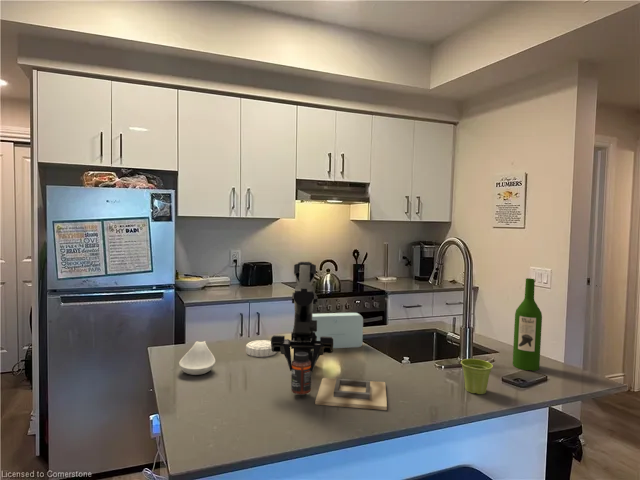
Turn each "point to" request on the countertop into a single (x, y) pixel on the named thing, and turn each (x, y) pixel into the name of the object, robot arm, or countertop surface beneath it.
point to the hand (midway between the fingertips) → (301, 370)
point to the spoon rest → (197, 359)
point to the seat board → (352, 393)
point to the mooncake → (259, 348)
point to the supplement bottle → (301, 374)
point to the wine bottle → (527, 331)
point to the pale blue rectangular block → (340, 328)
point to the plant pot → (476, 375)
